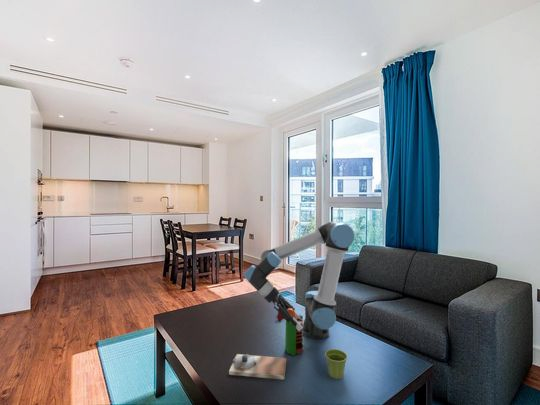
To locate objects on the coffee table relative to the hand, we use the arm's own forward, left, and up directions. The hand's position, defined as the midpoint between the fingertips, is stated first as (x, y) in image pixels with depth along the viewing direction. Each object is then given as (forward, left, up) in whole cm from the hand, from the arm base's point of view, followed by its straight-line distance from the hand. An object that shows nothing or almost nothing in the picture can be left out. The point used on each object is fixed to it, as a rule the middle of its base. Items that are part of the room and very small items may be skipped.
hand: (301, 325), depth 138 cm
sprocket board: (+19, +16, -13) cm, 28 cm away
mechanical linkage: (+12, -40, -13) cm, 44 cm away
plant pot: (-15, +16, -13) cm, 26 cm away
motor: (+3, 0, -13) cm, 13 cm away
